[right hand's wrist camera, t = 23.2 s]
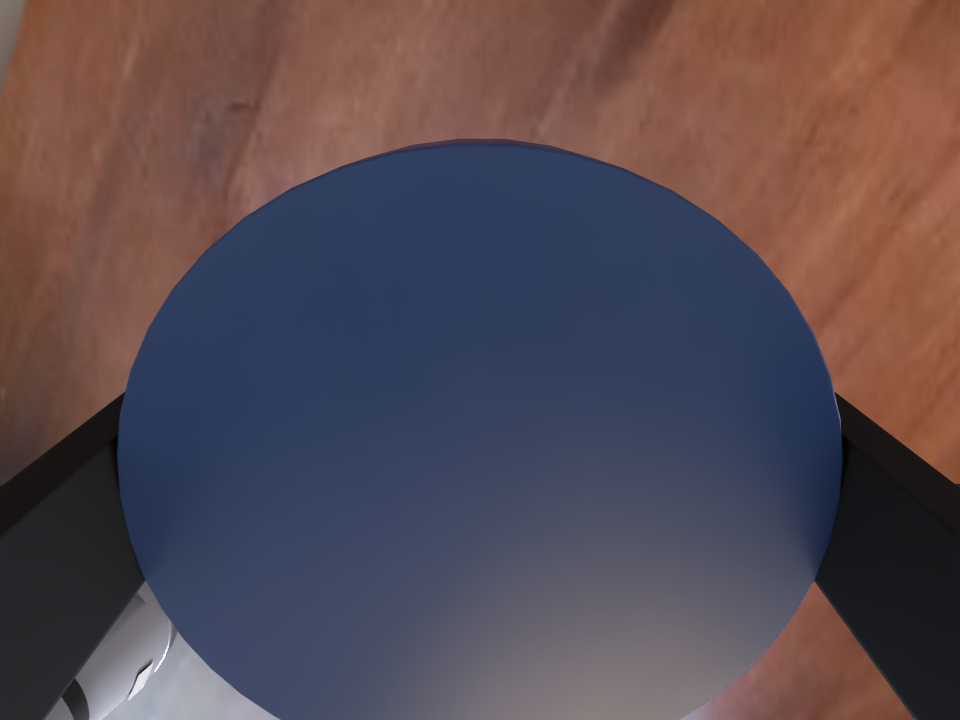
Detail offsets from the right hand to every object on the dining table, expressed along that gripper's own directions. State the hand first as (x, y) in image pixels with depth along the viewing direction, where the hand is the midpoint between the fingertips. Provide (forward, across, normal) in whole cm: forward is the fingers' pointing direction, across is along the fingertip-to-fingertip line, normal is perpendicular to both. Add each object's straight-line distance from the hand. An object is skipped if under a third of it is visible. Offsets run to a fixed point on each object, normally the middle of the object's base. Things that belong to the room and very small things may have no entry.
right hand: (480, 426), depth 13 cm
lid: (-3, 0, 0) cm, 3 cm away
